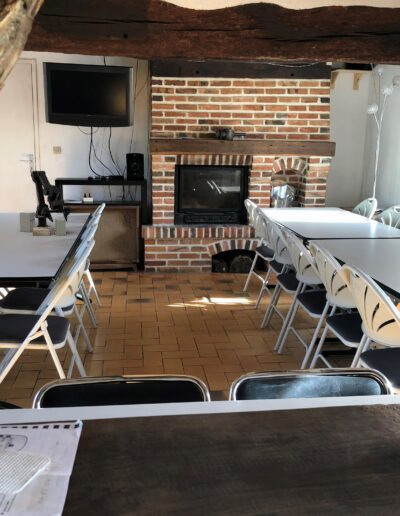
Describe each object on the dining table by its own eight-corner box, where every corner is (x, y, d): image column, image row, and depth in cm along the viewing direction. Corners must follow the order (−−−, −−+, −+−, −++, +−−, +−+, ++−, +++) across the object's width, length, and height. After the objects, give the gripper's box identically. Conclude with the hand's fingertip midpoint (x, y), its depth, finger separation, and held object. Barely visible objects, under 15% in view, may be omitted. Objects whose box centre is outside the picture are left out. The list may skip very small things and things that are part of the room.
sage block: (55, 234, 348) (55, 219, 346) (62, 233, 351) (62, 218, 349) (58, 235, 345) (57, 220, 342) (65, 235, 347) (65, 219, 345)
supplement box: (30, 232, 352) (29, 213, 349) (19, 231, 353) (19, 212, 351) (35, 230, 359) (35, 211, 356) (25, 229, 361) (24, 211, 358)
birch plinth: (33, 233, 350) (33, 227, 349) (49, 233, 353) (49, 227, 352) (33, 236, 341) (32, 230, 340) (49, 236, 343) (49, 230, 342)
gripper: (42, 195, 342) (48, 214, 336) (70, 194, 353) (76, 213, 346) (38, 206, 350) (44, 225, 343) (65, 205, 361) (72, 223, 354)
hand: (59, 221), depth 347 cm, fingers open, 9 cm apart
